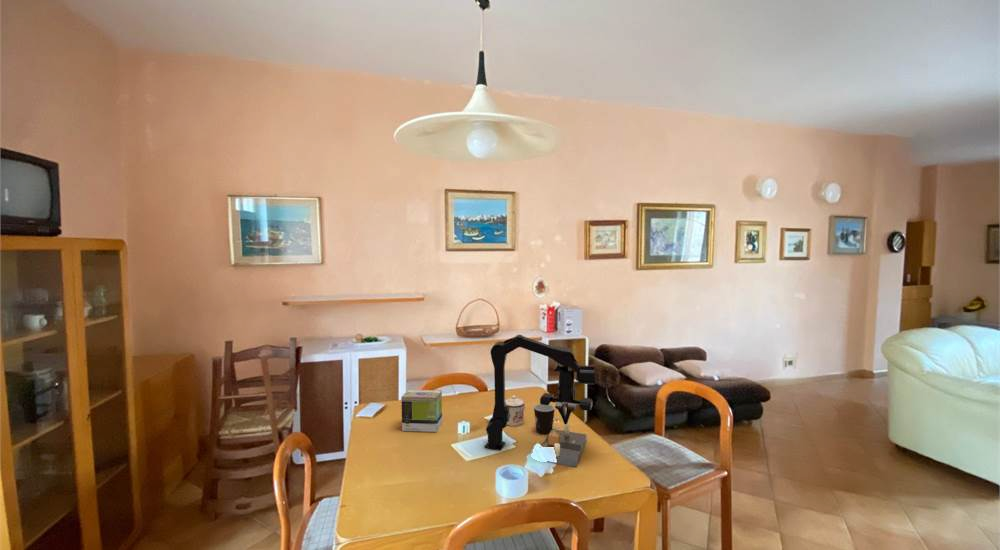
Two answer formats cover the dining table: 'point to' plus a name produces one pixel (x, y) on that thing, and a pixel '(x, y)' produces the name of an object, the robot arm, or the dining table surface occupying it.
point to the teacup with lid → (515, 411)
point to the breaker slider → (554, 438)
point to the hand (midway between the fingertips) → (565, 424)
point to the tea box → (422, 410)
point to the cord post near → (557, 449)
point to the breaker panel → (568, 447)
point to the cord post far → (566, 430)
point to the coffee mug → (544, 418)
